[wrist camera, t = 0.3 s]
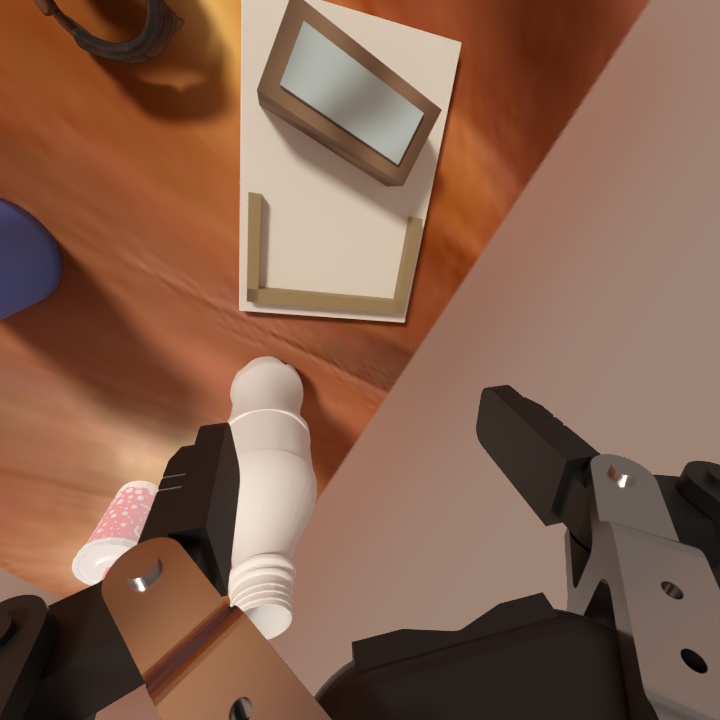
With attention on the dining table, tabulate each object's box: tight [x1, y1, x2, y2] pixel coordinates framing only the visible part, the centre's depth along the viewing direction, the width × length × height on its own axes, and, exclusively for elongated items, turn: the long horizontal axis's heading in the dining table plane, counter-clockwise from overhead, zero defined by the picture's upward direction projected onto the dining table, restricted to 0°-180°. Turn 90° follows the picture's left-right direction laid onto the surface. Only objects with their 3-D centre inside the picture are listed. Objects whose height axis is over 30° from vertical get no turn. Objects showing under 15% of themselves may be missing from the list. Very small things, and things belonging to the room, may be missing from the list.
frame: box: [257, 0, 442, 186], centre depth 27 cm, size 12×6×5 cm, turn 61°
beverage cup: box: [72, 481, 158, 586], centre depth 36 cm, size 6×6×14 cm
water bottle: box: [227, 356, 317, 640], centre depth 28 cm, size 7×7×25 cm
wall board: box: [239, 0, 461, 323], centre depth 31 cm, size 24×17×2 cm
